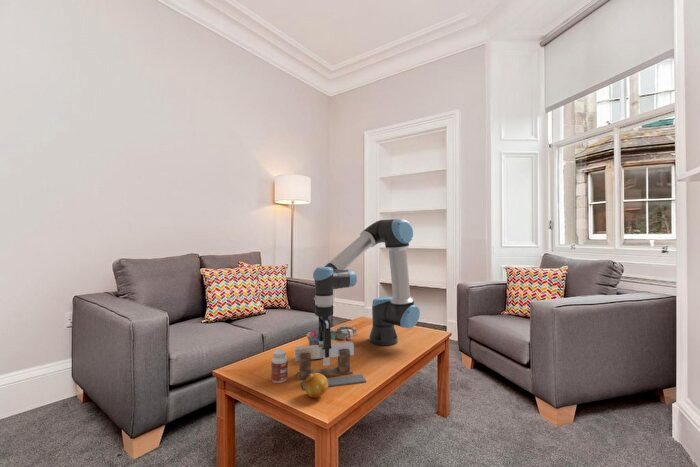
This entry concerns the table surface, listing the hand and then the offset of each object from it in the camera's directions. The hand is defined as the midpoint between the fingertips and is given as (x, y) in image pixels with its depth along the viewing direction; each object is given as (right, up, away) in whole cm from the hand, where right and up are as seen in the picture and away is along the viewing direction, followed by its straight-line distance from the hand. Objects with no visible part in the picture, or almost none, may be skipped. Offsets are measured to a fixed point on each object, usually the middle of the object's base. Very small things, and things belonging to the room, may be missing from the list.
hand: (324, 360), depth 135 cm
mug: (-4, -6, +20) cm, 21 cm away
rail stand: (0, -5, 0) cm, 5 cm away
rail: (0, +2, 0) cm, 2 cm away
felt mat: (+4, -5, -8) cm, 11 cm away
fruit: (-1, -6, -19) cm, 20 cm away
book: (+7, -6, +47) cm, 48 cm away
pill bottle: (-17, -6, -6) cm, 19 cm away
